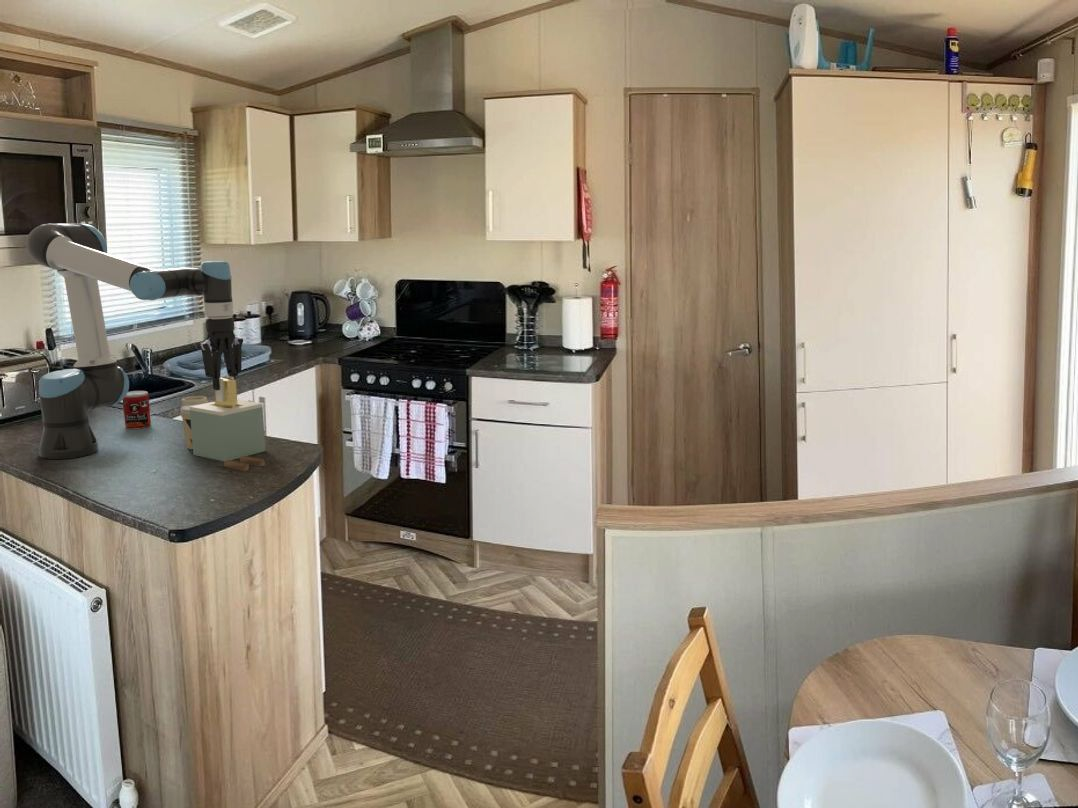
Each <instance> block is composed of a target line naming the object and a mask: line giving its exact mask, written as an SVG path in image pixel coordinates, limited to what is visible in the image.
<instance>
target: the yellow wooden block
mask: <svg viewBox="0 0 1078 808" xmlns="http://www.w3.org/2000/svg"><path fill="white" fill-rule="evenodd" d="M221 378H222V379H223V388H224V402H221V401H216V392H215V390H214V389H213V395H214V402H215V406H218V407H224V408H233V407H238V405H237V399H238V392H237V379H236V380H235V379H228V378H225V377H221Z"/></svg>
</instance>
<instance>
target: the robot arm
mask: <svg viewBox="0 0 1078 808" xmlns="http://www.w3.org/2000/svg"><path fill="white" fill-rule="evenodd" d="M26 238H27V239H26V250H27V252H28V255H29V256H30V257H31V259H32V260H33V261H35V262H36V263H37V264H39V265H41V266H43V267H46V268H49V269H53V270H56V272H57V274H59V275H60V276H62V277H63V280H64V284H65V285H64V286H65V291H66V297H67V301H68V307H69V313H70V319H71V324H72V329H73V330H72V331H73V336H74V342H75V347H76V352H77V361H76V362H75V363H74V364H73V368H65V369H62V370H54V371H51V372H48V373H46V374H43V376H41V377H40V378H39V380H38V395H39V403H40V410H41V418H42V425H43V430H42V434H41V439H40V441H39V447H38V451H39V452H38V453H39V457H40V458H42V459H46V458H47V460H67V459H73V458H81V457H85V456H89V455H92V454H94V453H96V452H98V451H99V443H98V440H97V438H96V436H95V434H94V432H93V430H92V428H91V425H90V421H89V413H88V412H92V411H96V410H99V409H102V408H110V407H112V406H114V405H116V404H119V403H120V402H123V399H124V397H125V396H126V395H127V393H128V392H129V389H130V380H129V377H128V374H127V373H126V372H124V369H123V368H122V367H120V366H118V362H117V361H118V360H117V359H115V358H114V357H112V356H111V353H110V347H109V342H108V335H107V329H106V323H105V317H104V311H103V306H102V298H101V293H100V287H99V282H102V283H106V284H109V285H111V286H114V287H117V288H120V289H123V290H126V291H128V292H131V293H132V294H133V295H134V296H135V298H137V299H138V300H140V301H156V300H161V299H168V298H176V297H183V296H184V297H185V296H201V297H202V296H203V301H204V302H203V304H204V316H205V317H206V319H205V329H206V333H207V336H206V340H204V341H203V342H199V343H198V347H199V349H200V350H201V354H202V359H203V367H204V372H205V377H207V378H210V379H212V380H211V381H212V388H213V391H214V390H215V392H216V401H221V402H224V388H223V379H222V378H223V377H221V370H222V355H223V358H224V363H225V368H226V369H225V370H226V373H227V375H225V377H224V378H228V379H235V380H236V381H237V379H236V377H238V376H239V374H240V373H242V364H243V363H242V361H243V359H242V351H243V350H242V346H243V344H244V339H243V338H240V337H237V336H236V334H235V332H234V331H235V328H236V327H235V318H234V317H233V316H234V303H233V292H232V290H233V287H232V278H233V277H232V274H231V266H230V263H229V262H228V261H225V260H208V261H203V262H202V263H200V264H201V265H200V268H199V267H198V268H195V267H194V268H191V267H172V268H171V267H170V268H167V269H162V270H161V269H158V270H157V269H153V268H150V267H147V266H144V265H141V264H138V263H135V262H132V261H129V260H126V259H123V258H120V257H117V256H115V255H111V254H110V253H109V254H108V253H107V249H108V247H107V242H106V240H105V238H104V235H103V234H102V232H101V231H99V230H98V229H97V228H96V227H95V226H94V225H90V224H87V223H79V222H78V223H77V222H74V223H72V222H71V223H44V224H40V225H39V226H36V227H35V228H33V229H32V230H31V231H30V232H29V233H28V236H27V237H26Z"/></svg>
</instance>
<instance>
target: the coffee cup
mask: <svg viewBox="0 0 1078 808" xmlns="http://www.w3.org/2000/svg"><path fill="white" fill-rule="evenodd" d="M195 405H200V404H192V405H187V406H184V407H182V406H181V407H182V409H181V408H180V414H181V413H182V417H181V418H182V419H181V420H182V425H183V431H184V438H185V443H186V447H187V449H188V448H189V449H188V450H192V449H193V443H192V431H191V419H190V406H195Z"/></svg>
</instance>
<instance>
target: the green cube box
mask: <svg viewBox="0 0 1078 808" xmlns="http://www.w3.org/2000/svg"><path fill="white" fill-rule="evenodd" d="M237 405H238V407H233V408H224V407H218V406H215V401H210V402H209V403H205V404H200V405H195V406H190V419H191V431H192V443H193V450H192V452H193V456H199V457H202V458H206V459H210V460H211V459H212V460H216V461H220V462H224V461H227V460H231V461H235V460H237V459H240V457H242V456H248V457H250V456H253V455H255V454H260V453H262V452H266V439H265V437H266V435H265V425H264V421H265V419H264V406H263V403H260V402H256V401H250V400H244V399H238V398H237Z"/></svg>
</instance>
